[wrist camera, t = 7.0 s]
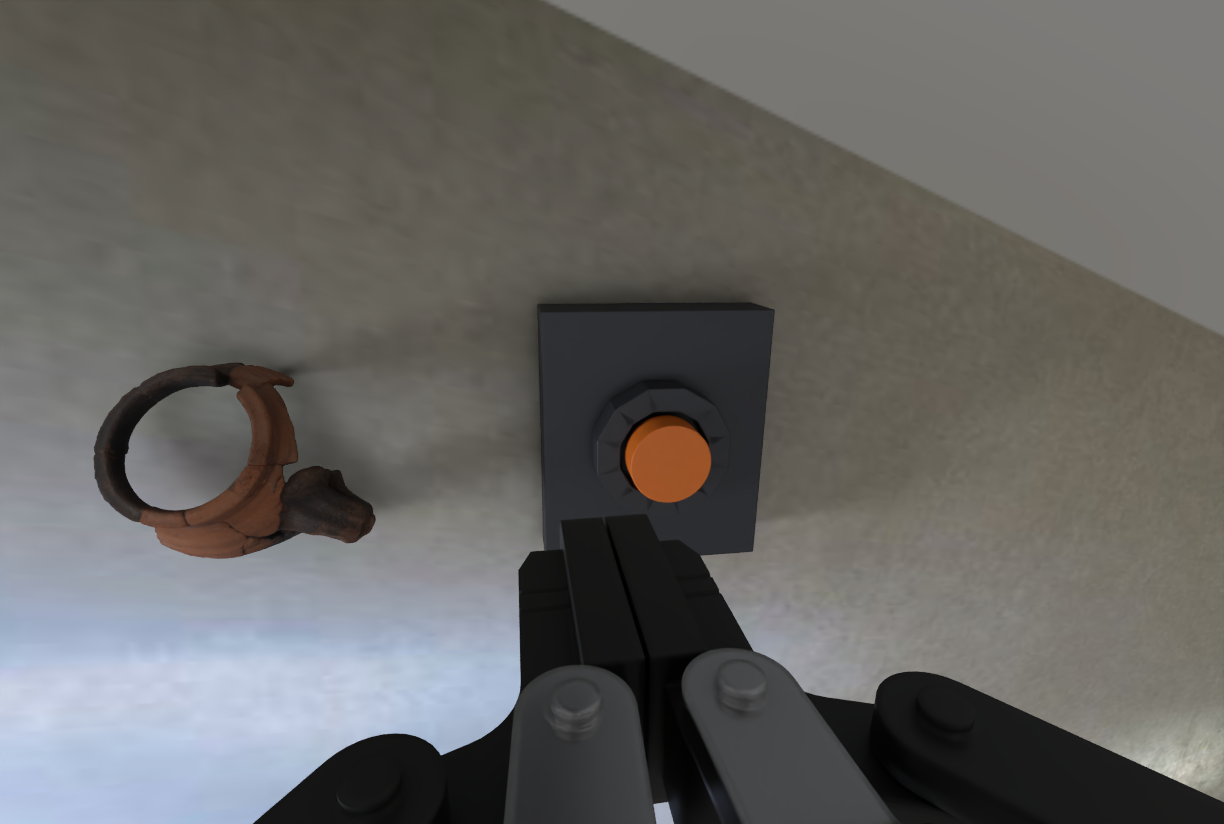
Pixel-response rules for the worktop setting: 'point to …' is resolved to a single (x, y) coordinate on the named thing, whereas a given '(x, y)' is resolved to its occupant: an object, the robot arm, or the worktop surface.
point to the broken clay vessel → (257, 497)
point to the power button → (667, 458)
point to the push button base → (653, 412)
